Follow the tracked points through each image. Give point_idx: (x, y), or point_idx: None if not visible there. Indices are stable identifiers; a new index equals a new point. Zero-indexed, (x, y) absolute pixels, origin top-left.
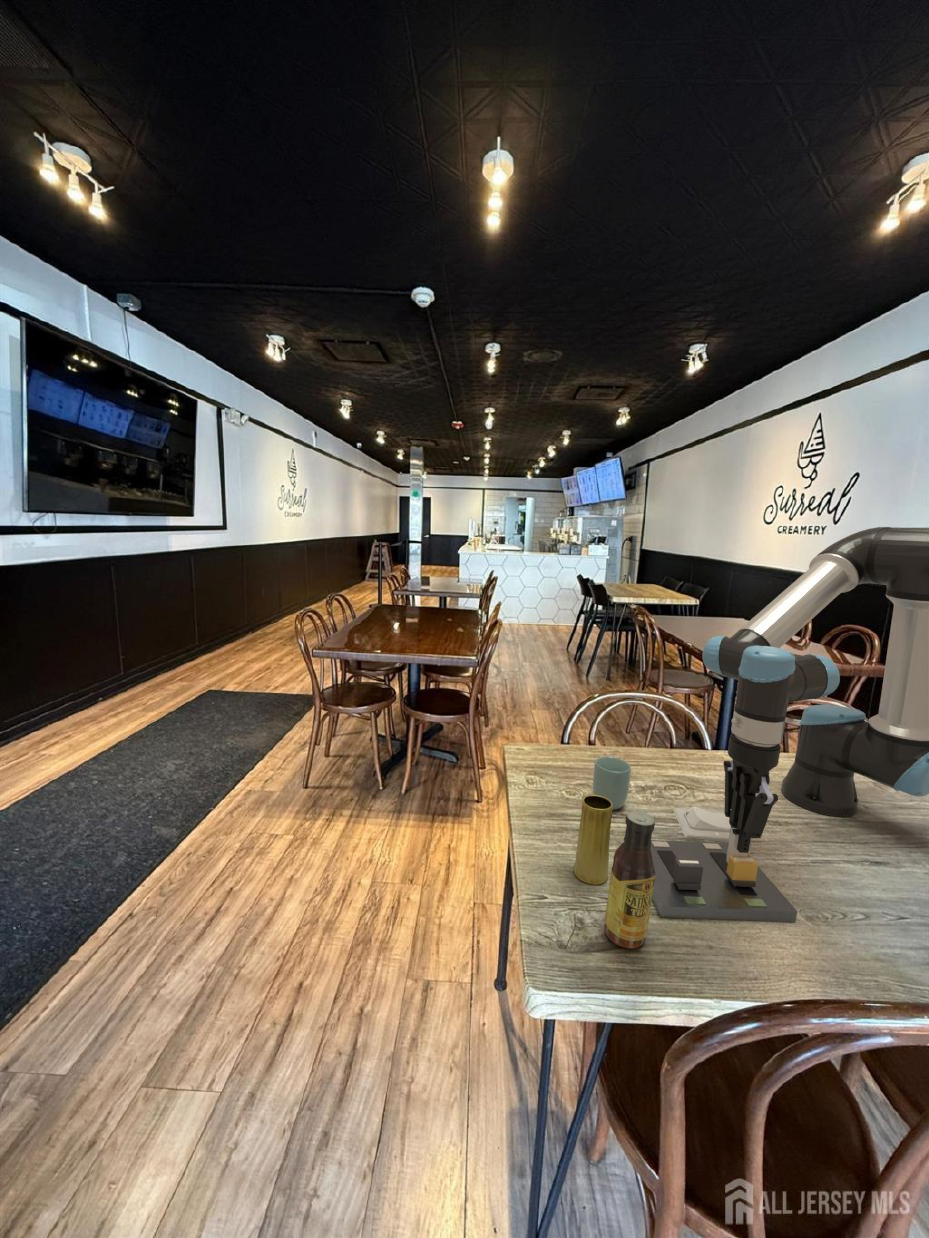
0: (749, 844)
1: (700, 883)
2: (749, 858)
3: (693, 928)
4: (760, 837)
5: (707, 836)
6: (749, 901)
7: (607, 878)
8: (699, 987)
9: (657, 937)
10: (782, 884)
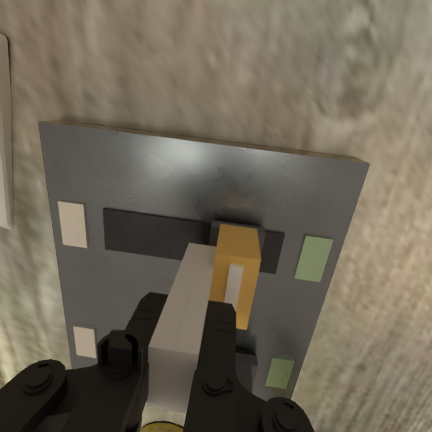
0: (234, 338)
1: (251, 365)
2: (231, 275)
3: (314, 368)
4: (306, 417)
5: (3, 178)
6: (307, 272)
7: (182, 430)
8: (424, 418)
9: (319, 421)
10: (208, 72)
